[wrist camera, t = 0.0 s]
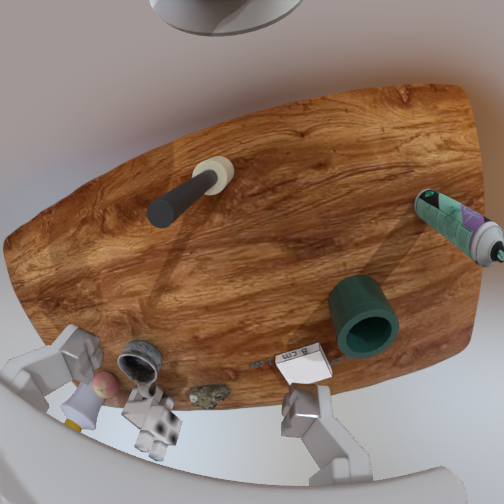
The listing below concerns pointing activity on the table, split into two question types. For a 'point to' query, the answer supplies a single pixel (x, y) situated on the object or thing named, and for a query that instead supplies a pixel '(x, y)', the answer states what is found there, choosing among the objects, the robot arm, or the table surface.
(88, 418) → the soap bottle
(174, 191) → the grey rod in base
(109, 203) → the table surface
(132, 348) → the grey pot
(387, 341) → the jar
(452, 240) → the spray can
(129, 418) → the toy llama
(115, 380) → the apple
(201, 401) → the rock
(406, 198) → the table surface
